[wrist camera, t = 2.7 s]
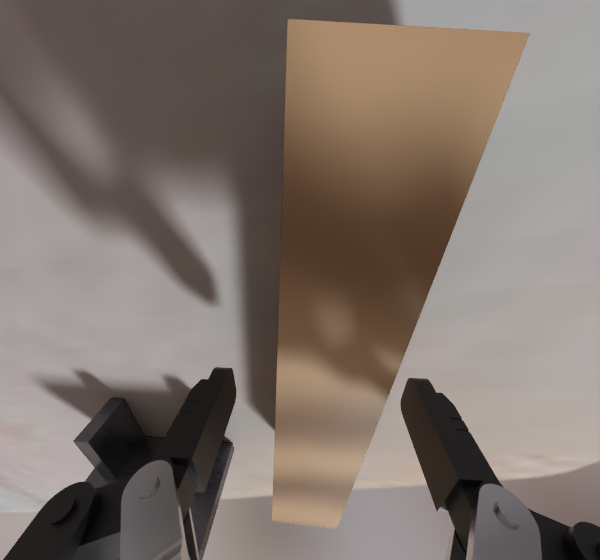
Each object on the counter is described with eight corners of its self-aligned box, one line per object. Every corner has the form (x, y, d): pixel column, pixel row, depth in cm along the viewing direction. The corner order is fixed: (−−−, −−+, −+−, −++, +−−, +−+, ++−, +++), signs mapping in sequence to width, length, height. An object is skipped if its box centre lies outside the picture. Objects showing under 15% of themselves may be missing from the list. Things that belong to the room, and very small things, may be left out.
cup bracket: (95, 396, 17) (-30, 528, 11) (223, 405, 17) (167, 550, 10) (123, 440, 20) (35, 566, 14) (234, 449, 19) (194, 584, 13)
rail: (304, 96, 8) (287, 18, 4) (414, 104, 8) (529, 33, 4) (283, 434, 18) (272, 520, 14) (331, 440, 18) (336, 529, 14)
